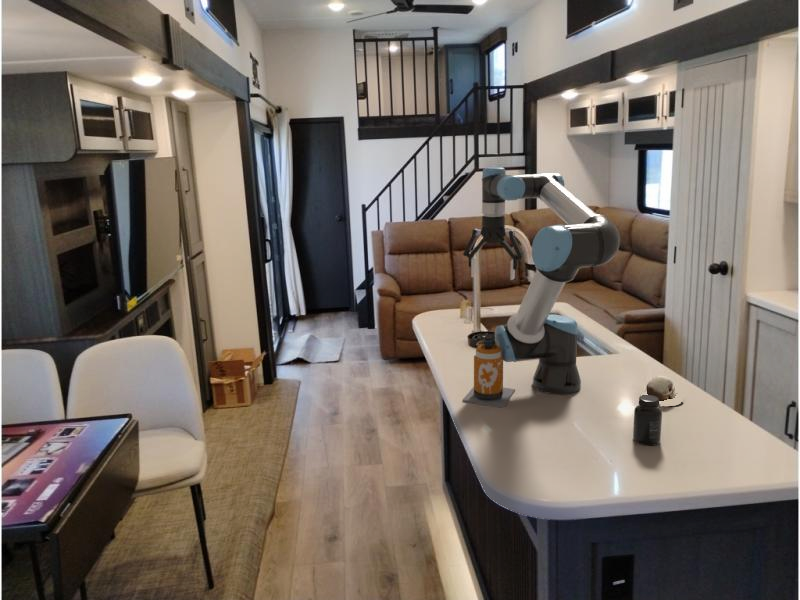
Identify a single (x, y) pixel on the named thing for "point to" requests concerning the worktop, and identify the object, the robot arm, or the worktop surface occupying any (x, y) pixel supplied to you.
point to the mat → (494, 402)
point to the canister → (488, 370)
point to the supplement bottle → (647, 421)
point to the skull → (661, 388)
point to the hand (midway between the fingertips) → (492, 277)
